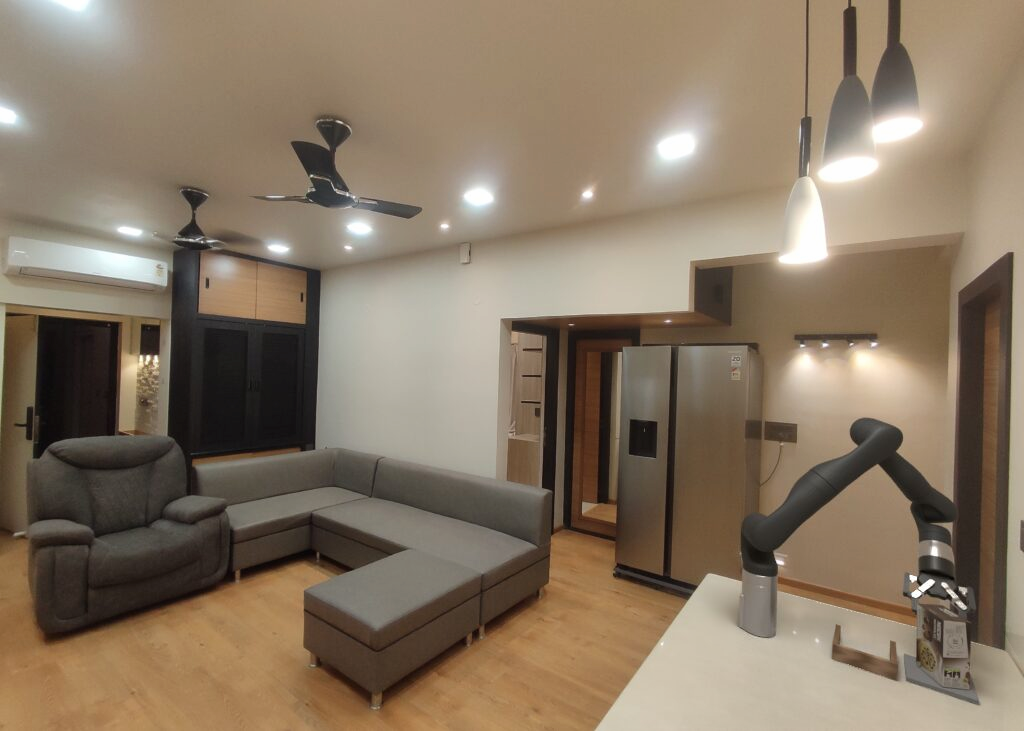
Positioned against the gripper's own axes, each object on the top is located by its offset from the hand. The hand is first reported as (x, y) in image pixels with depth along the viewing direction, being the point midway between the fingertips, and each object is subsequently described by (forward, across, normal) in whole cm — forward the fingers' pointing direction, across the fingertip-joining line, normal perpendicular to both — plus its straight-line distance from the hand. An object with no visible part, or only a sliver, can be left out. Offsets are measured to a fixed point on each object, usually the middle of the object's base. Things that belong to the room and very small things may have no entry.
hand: (938, 619), depth 121 cm
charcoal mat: (+12, 0, +7) cm, 14 cm away
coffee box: (+12, 0, +6) cm, 13 cm away
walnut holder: (+13, -15, +6) cm, 21 cm away
